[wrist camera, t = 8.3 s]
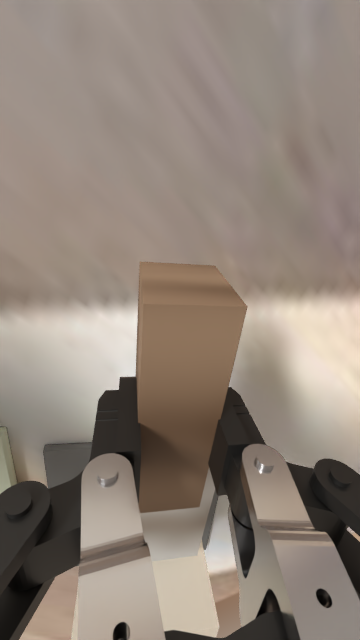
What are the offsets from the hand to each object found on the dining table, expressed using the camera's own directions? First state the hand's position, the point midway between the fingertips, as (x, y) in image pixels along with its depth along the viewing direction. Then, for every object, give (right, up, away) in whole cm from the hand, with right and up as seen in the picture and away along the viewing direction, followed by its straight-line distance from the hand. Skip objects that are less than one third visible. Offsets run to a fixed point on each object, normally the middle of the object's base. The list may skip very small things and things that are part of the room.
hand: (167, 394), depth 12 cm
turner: (-1, -3, +3) cm, 4 cm away
